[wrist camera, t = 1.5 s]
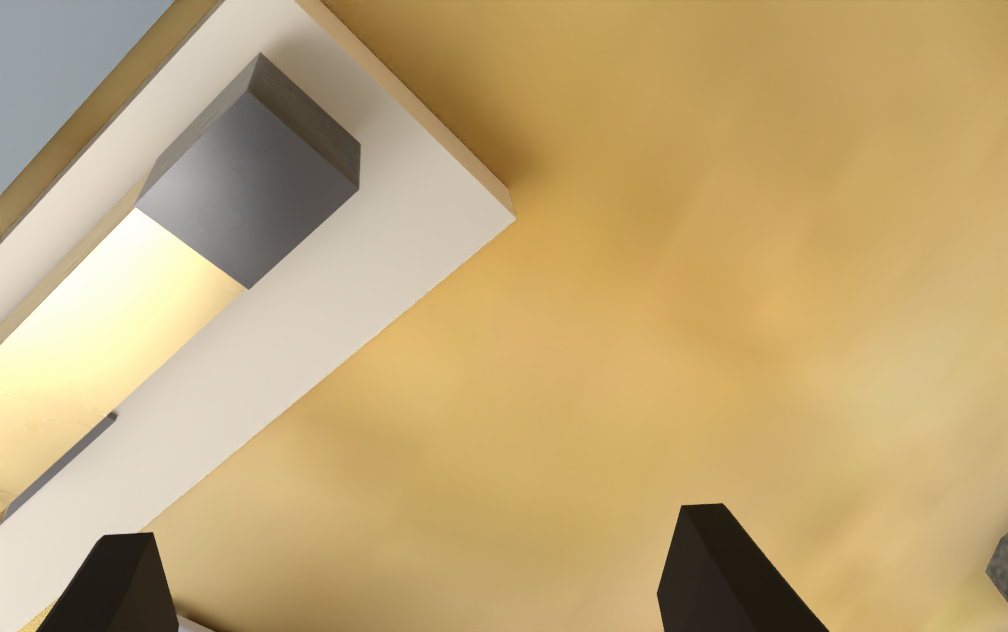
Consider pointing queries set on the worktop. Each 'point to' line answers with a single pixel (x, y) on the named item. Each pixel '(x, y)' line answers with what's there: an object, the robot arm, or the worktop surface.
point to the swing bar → (167, 262)
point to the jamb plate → (255, 312)
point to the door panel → (58, 65)
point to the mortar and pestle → (1000, 567)
